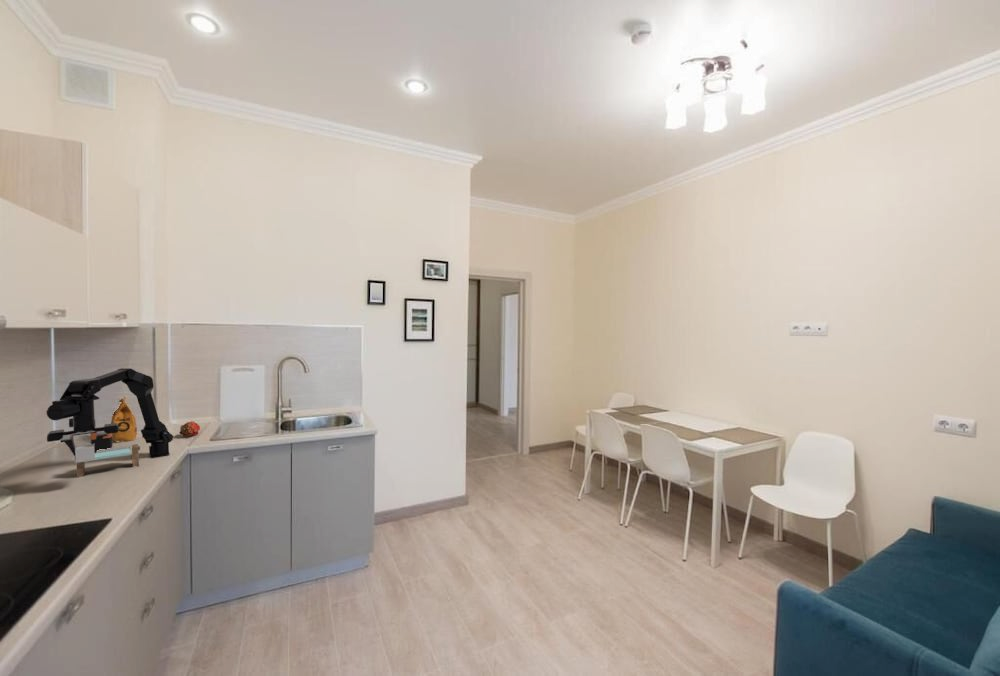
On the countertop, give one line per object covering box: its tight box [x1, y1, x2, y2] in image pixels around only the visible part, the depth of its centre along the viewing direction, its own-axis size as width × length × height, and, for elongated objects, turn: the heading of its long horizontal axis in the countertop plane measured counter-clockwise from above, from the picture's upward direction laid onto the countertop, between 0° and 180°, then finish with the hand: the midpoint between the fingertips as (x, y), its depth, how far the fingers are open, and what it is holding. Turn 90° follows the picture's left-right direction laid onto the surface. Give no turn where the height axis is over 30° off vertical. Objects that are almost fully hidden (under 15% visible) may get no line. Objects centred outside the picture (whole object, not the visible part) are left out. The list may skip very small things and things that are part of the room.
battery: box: [90, 433, 113, 450], centre depth 197 cm, size 4×7×10 cm, turn 123°
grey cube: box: [74, 443, 96, 464], centre depth 155 cm, size 5×5×5 cm
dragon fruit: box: [178, 420, 201, 438], centre depth 221 cm, size 8×8×12 cm
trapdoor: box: [84, 445, 132, 462], centre depth 172 cm, size 14×11×3 cm
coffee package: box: [110, 396, 138, 443], centre depth 213 cm, size 10×12×22 cm
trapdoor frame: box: [74, 443, 141, 478], centre depth 172 cm, size 20×5×8 cm, turn 133°
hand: (85, 454), depth 155 cm, fingers closed on grey cube, 5 cm apart
